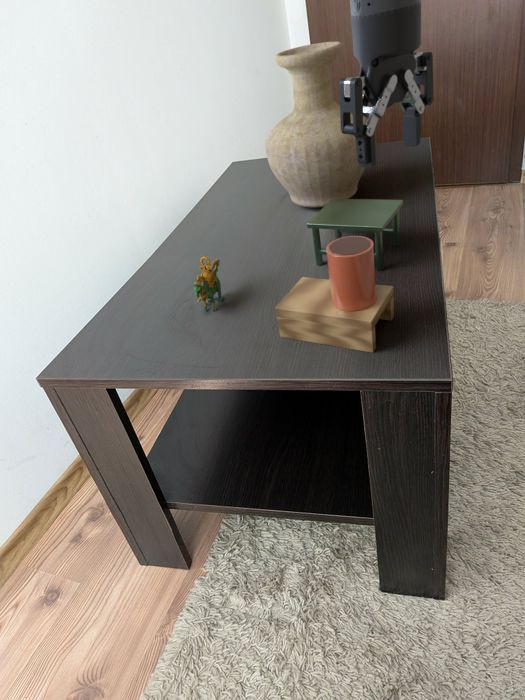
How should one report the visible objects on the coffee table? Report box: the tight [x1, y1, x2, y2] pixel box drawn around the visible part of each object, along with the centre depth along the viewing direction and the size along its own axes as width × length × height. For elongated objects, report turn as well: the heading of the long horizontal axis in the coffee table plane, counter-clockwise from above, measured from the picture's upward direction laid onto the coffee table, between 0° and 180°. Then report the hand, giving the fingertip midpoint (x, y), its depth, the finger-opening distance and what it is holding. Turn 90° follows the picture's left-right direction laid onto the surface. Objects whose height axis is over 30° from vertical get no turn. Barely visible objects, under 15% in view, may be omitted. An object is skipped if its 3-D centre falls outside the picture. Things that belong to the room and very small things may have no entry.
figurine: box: [193, 256, 223, 312], centre depth 84 cm, size 3×12×8 cm, turn 167°
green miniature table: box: [306, 198, 404, 272], centre depth 88 cm, size 13×11×8 cm
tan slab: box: [274, 276, 395, 354], centre depth 72 cm, size 14×9×5 cm, turn 61°
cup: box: [325, 235, 377, 311], centre depth 67 cm, size 6×6×8 cm
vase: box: [264, 41, 368, 208], centre depth 106 cm, size 22×22×30 cm
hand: (390, 155), depth 65 cm, fingers open, 8 cm apart
